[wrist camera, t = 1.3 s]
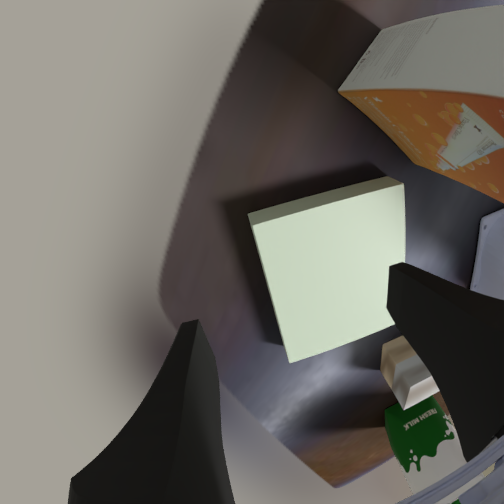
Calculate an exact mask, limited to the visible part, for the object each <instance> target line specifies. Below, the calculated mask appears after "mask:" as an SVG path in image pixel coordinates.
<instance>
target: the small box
mask: <svg viewBox="0 0 504 504" xmlns="http://www.w3.org/2000/svg"><path fill="white" fill-rule="evenodd" d="M338 93H339V94H341V95H342V96H343V97H345V98H346V99H347V100H349V101H350V102H351V103H352V104H354V105H355V106H356V107H357V108H358V109H360V110H361V111H362V112H363V113H364V114H365V115H367V116H368V117H369V118H370V119H371V120H372V121H373V122H374V123H375V124H376V125H377V126H378V127H380V128H381V129H382V130H383V131H384V132H385V133H386V134H387V135H388V136H389V137H390V138H391V139H392V140H393V141H394V142H395V143H396V144H397V146H398V147H399V148H400V149H401V150H402V151H403V152H404V153H405V154H406V155H407V156H408V157H409V159H410V160H411V161H412V162H413V163H414V164H416V165H419V166H422V167H424V168H427V169H429V170H432V171H434V172H437V173H439V174H442V175H444V176H447V177H449V178H451V179H454V180H456V181H458V182H460V183H462V184H465V185H467V186H469V187H471V188H473V189H476V190H478V191H480V192H482V193H484V194H486V195H488V196H490V197H492V198H494V199H496V200H498V201H500V202H502V203H504V5H497V6H487V7H479V8H472V9H465V10H459V11H453V12H447V13H442V14H437V15H433V16H428V17H424V18H420V19H416V20H412V21H409V22H405V23H402V24H399V25H395V26H392V27H388V28H385V29H382V30H381V31H380V32H379V34H378V35H377V36H376V38H375V39H374V41H373V42H372V43H371V45H370V46H369V48H368V49H367V50H366V52H365V53H364V54H363V56H362V57H361V59H360V60H359V61H358V63H357V64H356V66H355V67H354V68H353V70H352V71H351V73H350V74H349V75H348V77H347V78H346V80H345V81H344V82H343V84H342V85H341V86H340V88H339V89H338Z"/></svg>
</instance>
